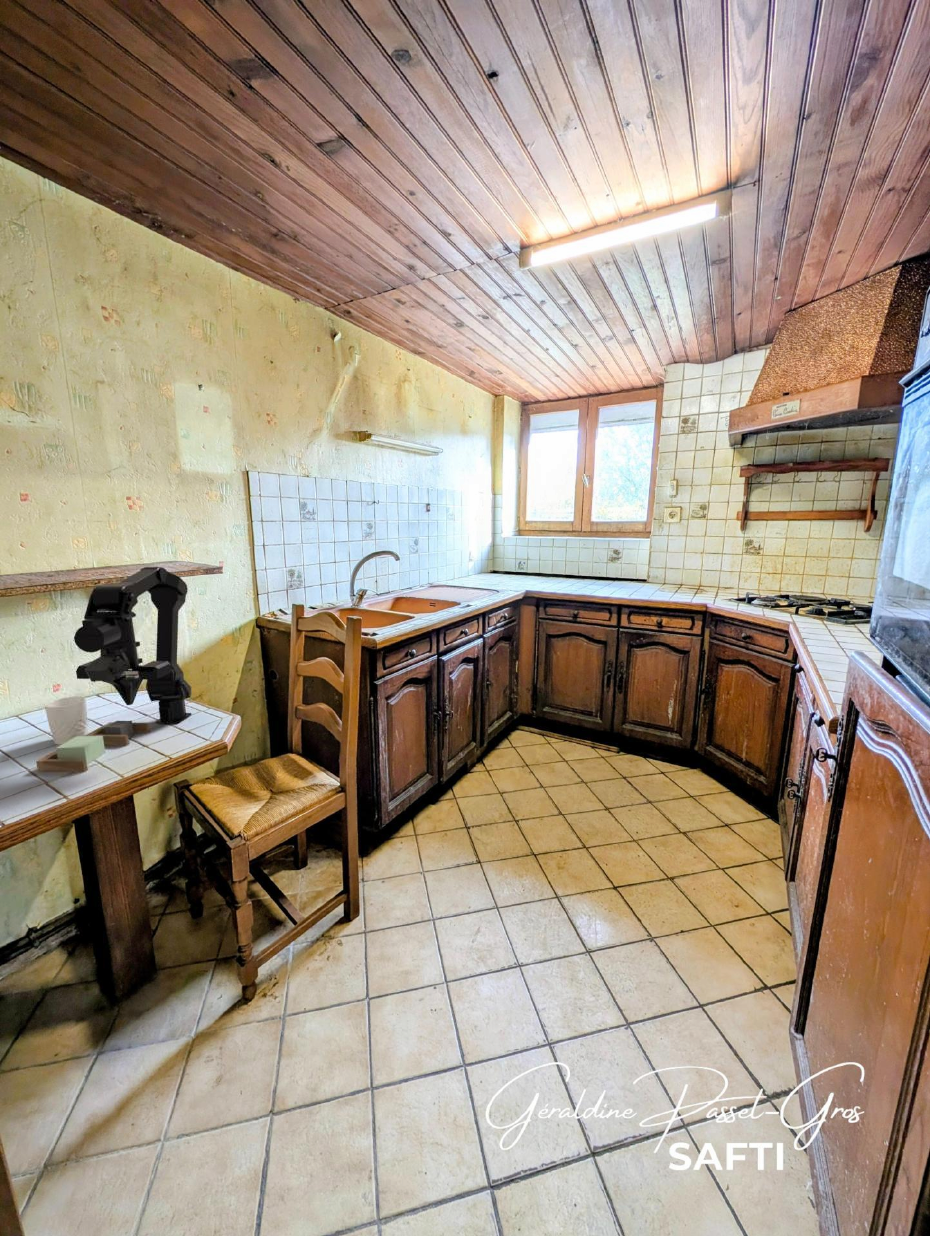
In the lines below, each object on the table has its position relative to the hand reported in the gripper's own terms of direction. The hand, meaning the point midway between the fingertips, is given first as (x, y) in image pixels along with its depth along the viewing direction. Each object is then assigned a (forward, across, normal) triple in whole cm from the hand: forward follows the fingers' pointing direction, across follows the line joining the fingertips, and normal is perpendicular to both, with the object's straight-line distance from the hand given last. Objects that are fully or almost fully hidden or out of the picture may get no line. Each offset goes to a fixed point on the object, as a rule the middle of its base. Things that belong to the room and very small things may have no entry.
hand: (129, 704), depth 111 cm
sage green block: (+12, -9, -5) cm, 16 cm away
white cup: (+12, -21, +6) cm, 25 cm away
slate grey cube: (+12, -9, +6) cm, 16 cm away
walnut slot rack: (+12, -9, 0) cm, 15 cm away
